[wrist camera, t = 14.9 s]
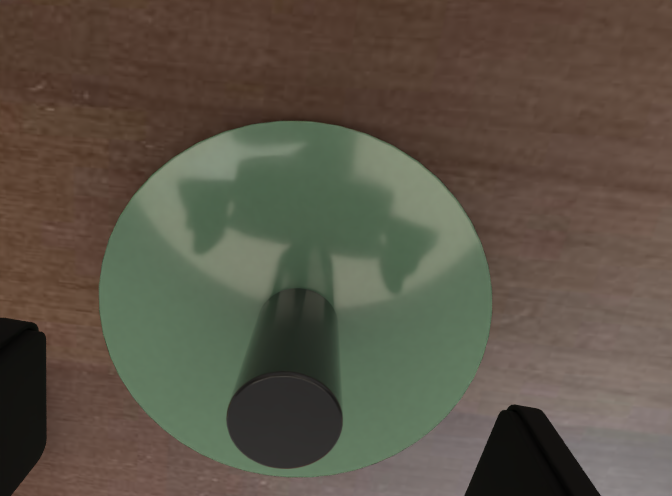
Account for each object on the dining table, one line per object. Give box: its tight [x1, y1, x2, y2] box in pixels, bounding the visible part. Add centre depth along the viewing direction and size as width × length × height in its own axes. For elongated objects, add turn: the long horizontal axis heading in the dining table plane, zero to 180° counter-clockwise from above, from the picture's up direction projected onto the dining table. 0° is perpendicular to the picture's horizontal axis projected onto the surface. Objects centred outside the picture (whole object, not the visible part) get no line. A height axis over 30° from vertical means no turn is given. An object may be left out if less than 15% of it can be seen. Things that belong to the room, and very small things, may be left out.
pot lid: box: [99, 120, 492, 477], centre depth 13 cm, size 14×14×6 cm
